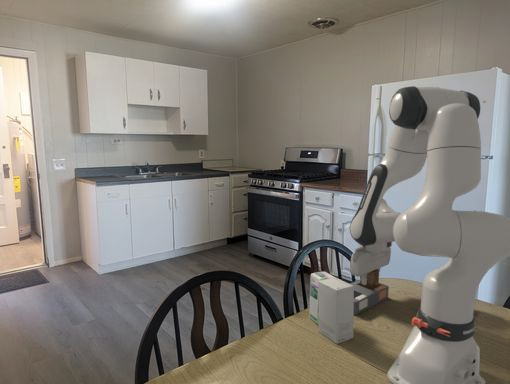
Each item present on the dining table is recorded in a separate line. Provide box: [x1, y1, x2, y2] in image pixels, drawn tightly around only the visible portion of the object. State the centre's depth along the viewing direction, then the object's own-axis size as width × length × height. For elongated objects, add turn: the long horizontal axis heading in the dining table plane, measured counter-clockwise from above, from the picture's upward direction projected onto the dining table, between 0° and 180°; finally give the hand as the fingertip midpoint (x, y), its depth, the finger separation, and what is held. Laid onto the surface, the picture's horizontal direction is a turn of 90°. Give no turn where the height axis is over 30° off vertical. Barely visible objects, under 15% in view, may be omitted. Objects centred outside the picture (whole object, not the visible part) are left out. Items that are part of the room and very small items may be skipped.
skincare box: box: [318, 276, 354, 345], centre depth 100 cm, size 8×7×16 cm
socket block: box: [349, 279, 390, 317], centre depth 122 cm, size 20×10×5 cm, turn 130°
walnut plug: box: [359, 269, 380, 290], centre depth 126 cm, size 4×4×8 cm
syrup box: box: [308, 271, 334, 326], centre depth 109 cm, size 6×6×14 cm
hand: (369, 281), depth 126 cm, fingers closed on walnut plug, 4 cm apart
